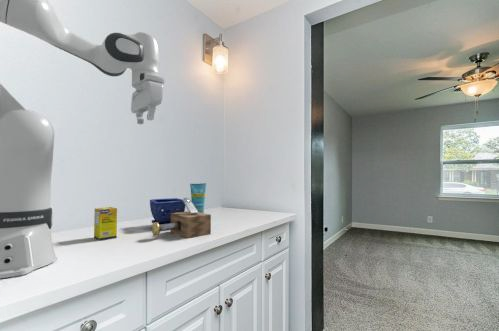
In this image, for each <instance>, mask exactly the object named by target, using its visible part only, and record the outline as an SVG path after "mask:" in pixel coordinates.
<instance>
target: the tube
mask: <svg viewBox="0 0 499 331" xmlns="http://www.w3.org/2000/svg"><path fill="white" fill-rule="evenodd" d="M189 185H190V200H191V201H192V203H193V205H194V206H195V208H196V209H197V211H198V212H200V213H205V199H206V198H205V197H206V190H207V189H206V187H207V183H206V182H205V183H204V182H202V183H201V182H200V183H190V184H189Z"/></svg>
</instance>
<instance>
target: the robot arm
mask: <svg viewBox="0 0 499 331" xmlns="http://www.w3.org/2000/svg"><path fill="white" fill-rule="evenodd" d="M0 23H2V24H5V25H7V26H9V27H12V28H15V29H17V30H19V31H22V32H25V33H27V34H29V35H31V36H34V37H36V38H38V39H40V40H41V41H44V42H46V43H48V44H50V45H51V46H53V47H54V48H58V49H59V50H62V51H64V52H66V53H68V54H70V55H72V56H74V57H76V58H79V59H80V60H83V61H86V62H87V63H89V64H91V65H92V66H93V67H95V68H96V69H97V70H99V71H100V72H101V73H102V74H104V75H106V76H109V77H120V76H121V75H124V73H125V72H126V71H127V69H130V70H131V87H132V88H134V89H135V91H134V92H132V95H131V103H130V105H131V106H130V111H131V113H132V114H135V117H136V120H137V121H136V122H137V125H143V124H144V123H145V122H144V118H143V116H144V113H145V112H147V113H146V120H147V121H153V120H154V119H155V112H156V109H157V107H158V106H160V105H161V104H162V102H163V99H164V98H163V96H164V84H165V77H164V76H161V75H160V72H159V67H160V49H159V44H158V42H157V40H156V39H155V37H153V36H152V35H150V34H148V33H146V32H140V31H139V32H136V33H132V34H124V33H121V32H112V33H109V34H107V36H106V38H104V40H103V42H101V44H99V45H98V44H95V43H93V42H91V41H89V40H88V39H85V38H84V37H82V36H80V35H78V34H76V33H74V32H72V31H70V30H69V29H68V28H66V27H65V25H63V23H62V22H61V21H60V19H59V18H58V16H57V14H56V12H55V10H54V7H53V6H52V5H51V3H50V2H49V1H48V0H0ZM54 146H55V130H54V127H53V125H52V123H51V121H49V119H47V117H45V116H43V114H40V113H39V112H36V111H33V110H30V109H26V108H25V107H24V106H23V105H22V104H21V103H20V102H19V101H18V99H17V100H16V98H15V97H14V96H13V95H12V94H11V93H10V92H9V91H8V89H6V87H4V86H3V84H1V83H0V279H5V278H6V279H7V278H12V277H13V278H14V277H18V276H24V275H26V274H30V273H32V272H33V271H35V270H37V269H39V268H43V267H45V266H47V265H48V266H49V265H50V264H52V263H54V262H56V260H57V256H56V253H55V249H54V246H53V239H52V233H51V232H52V231H51V230H52V226H53V216H54V215H53V214H54V213H53V208H52V207H51V194H52V193H51V191H52V190H51V188H52V185H51V184H52V183H51V182H52V171H53V161H54V160H53V159H54Z"/></svg>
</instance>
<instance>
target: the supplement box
mask: <svg viewBox="0 0 499 331" xmlns="http://www.w3.org/2000/svg"><path fill="white" fill-rule="evenodd" d="M93 217H94V218H93V219H94V220H93V221H94V224H93V225H94V226H93V232H94V234H93V238H94V239H96V240H98V241H105V240H111V239H115V238H116V239H117V237H118V236H117V234H118V233H117V232H118V230H117V228H118V225H117V224H118V208H116V207H113V206H108V207H107V206H105V207H96V208H94V216H93Z"/></svg>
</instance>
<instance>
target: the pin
mask: <svg viewBox="0 0 499 331" xmlns="http://www.w3.org/2000/svg"><path fill="white" fill-rule="evenodd" d="M180 228H181V222H177V223H170V224H163V225H159V223H158V222H155V223H152V224H151V233H152V235H153V237H154V236H159V235H160V233H161V232H168V231H171V230H174V229H180Z"/></svg>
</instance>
